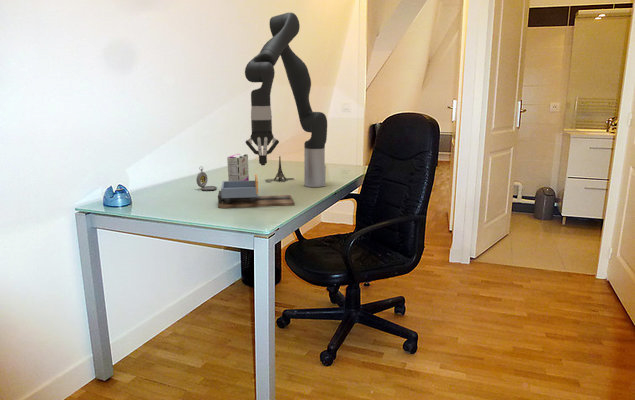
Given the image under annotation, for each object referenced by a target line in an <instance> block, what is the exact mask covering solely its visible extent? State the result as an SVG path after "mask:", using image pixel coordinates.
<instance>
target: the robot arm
mask: <svg viewBox="0 0 635 400" xmlns="http://www.w3.org/2000/svg"><path fill="white" fill-rule="evenodd" d="M300 28H301V27H300V21H299V18H298V16H297V14H295V13H294V12H286V13H282V14H278V15H274V16H271V17H270V19H269V29H270V33H271V36H272V37H271V38H270V39H269V40H267V41H266V42H265V44H264V45H263V46H262V48H261V50H260V51H259V53H258V54H257V55H255V56H253V58H252V59H251V60H250V61H248V62H247V64H246V66H245V69H244V76H245V78H246V80H247V81H249V82H250V83H261V86H260V87H259V88H256V89H252V90H251V93H250V103H251V104H250V105H251V106H250V107H251V109H250V119H251V120H250V123H251V135H250V137H249V139H246V140H245V145H247V146H248V148H249V149H250V150H251V151H252V152H253V154H254V155H258V163H259V165H261V166H266V164H267V162H268V157H267V156H268V155H270V154H272V153H273V151H274V150H275V149H276V147H277V146H278V144H279V143H280V140H278V139H276V138H275V137H274V134H273V120H272V118H273V116H272V115H273V114H272V105H271V104H272V103H271V93H272V88H273V87H272V86H273V83H274V78H275V73H276V72H275V68H274V67H275V66H276V64H277V62H278V60H279V58H281V61H282V63H283V66H284V70H285V74H286V76H287V80H288V84H289V86H290V89H291V91H292V95H293V99H294V101H295V105H296V110H297V114H298V119H299V122H300V125H301V129H302V130H303V131H304V132H306V133H311V136H310V138H309V139H308V140H306V141H305V142H303V143H304V145H303V147H304V152H303V153H304V154H303V156H304V159H303V160H304V162H303V164H304V182H303V183H304V186H305V187H308V188H321V187H326V178H327V176H326V168H327V167H326V165H325V163H326V157H325V155H326V152H325V151H326V147H325V146H326V143H327V138H328V137H327V135H328V119H327V116H326V114H325V113H324V112H321V111H313V109H312V106H311V103H310V94H311V88H312V79H311V75H310V73H309V69H308V67H307V65H306V63H305V62H304V61H303V59H302V58H300V57H299V56H298V55H297V54H296V53H294V51H293V49H291V47H290V43H291V42H292V41H293V40H294V39H295V38H296V37H297V35H298V34H299V32H300ZM253 143H254V144H255V146H257V149H256V148H255V146H253ZM271 143H272V144H271ZM270 144H271V146H270V147H269V148H268V146H269V145H270ZM262 148H263V149H262Z"/></svg>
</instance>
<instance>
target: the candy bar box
mask: <svg viewBox="0 0 635 400" xmlns="http://www.w3.org/2000/svg"><path fill="white" fill-rule="evenodd" d="M227 174H228V175H227V176H228V181H250V177H249V175H250V174H249V156H248V153H236V154H233V155H230V156H227Z"/></svg>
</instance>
